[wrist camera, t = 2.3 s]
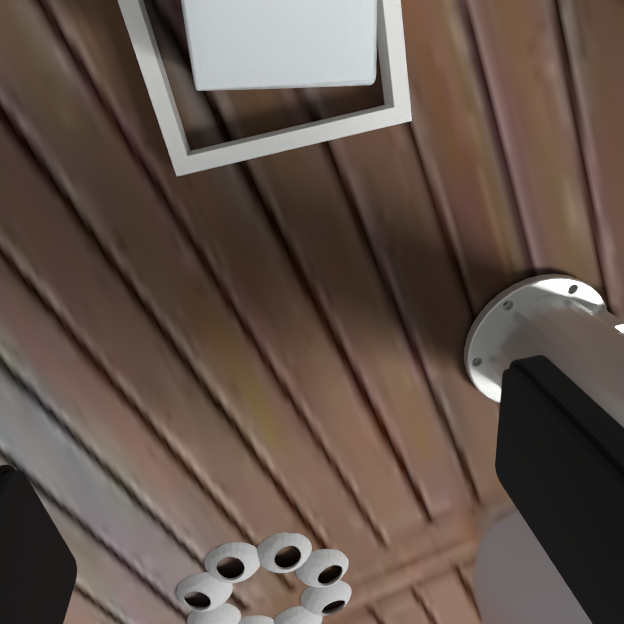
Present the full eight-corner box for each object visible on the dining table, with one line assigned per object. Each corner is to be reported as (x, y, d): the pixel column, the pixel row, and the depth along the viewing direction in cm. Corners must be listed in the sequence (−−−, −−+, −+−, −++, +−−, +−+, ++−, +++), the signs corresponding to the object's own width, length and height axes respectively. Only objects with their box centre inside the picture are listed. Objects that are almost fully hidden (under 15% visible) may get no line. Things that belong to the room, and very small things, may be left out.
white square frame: (368, -189, 24) (380, -211, 23) (400, 117, 32) (411, 120, 30) (82, -127, 24) (69, -145, 22) (180, 169, 31) (176, 176, 29)
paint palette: (197, 519, 46) (196, 537, 45) (378, 537, 51) (383, 554, 50) (160, 638, 54) (158, 658, 52) (321, 644, 59) (324, 662, 57)
